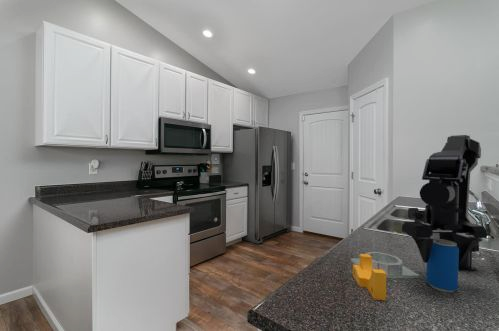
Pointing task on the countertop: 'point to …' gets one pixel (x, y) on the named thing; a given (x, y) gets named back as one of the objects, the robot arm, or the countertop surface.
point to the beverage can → (443, 265)
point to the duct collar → (389, 265)
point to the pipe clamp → (370, 277)
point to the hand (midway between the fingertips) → (442, 262)
